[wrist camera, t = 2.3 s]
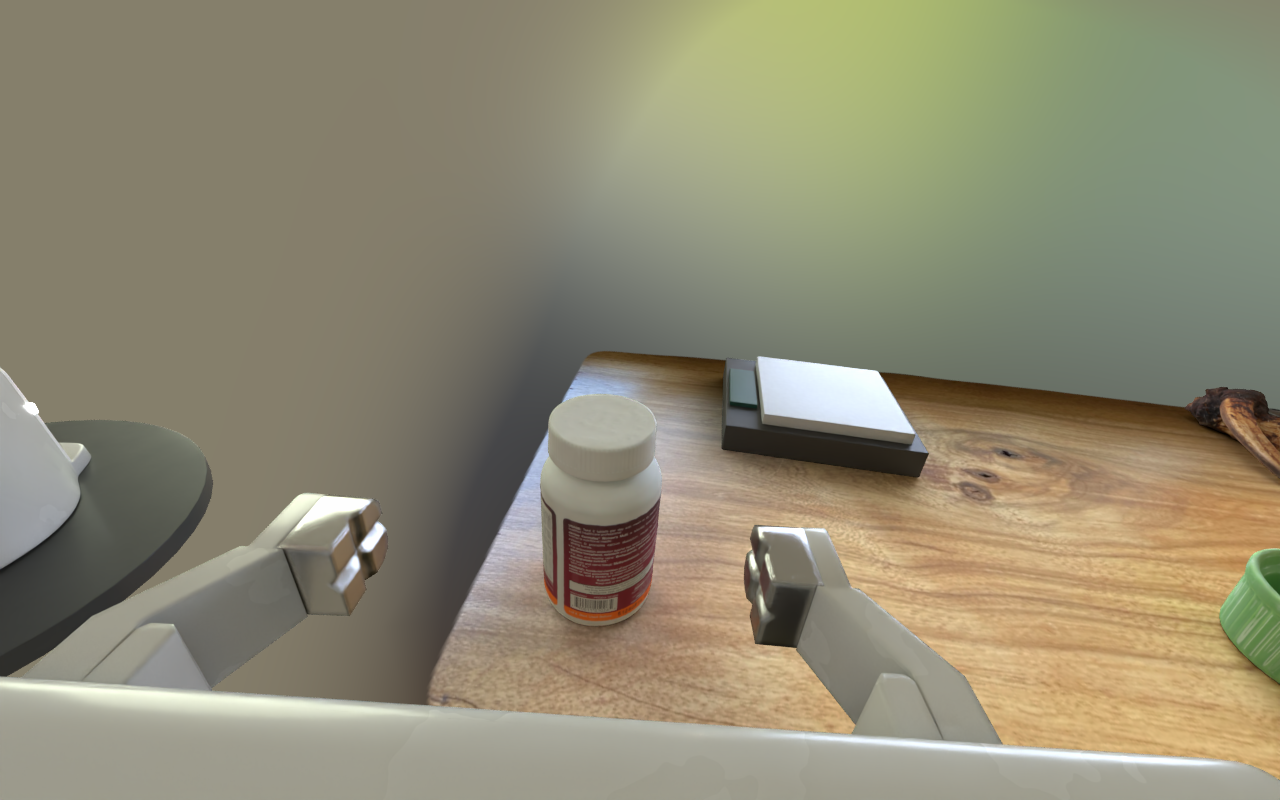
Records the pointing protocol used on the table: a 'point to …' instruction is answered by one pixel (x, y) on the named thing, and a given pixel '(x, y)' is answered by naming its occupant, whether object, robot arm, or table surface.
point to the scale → (817, 416)
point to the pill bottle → (600, 508)
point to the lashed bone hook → (1242, 421)
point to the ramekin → (1256, 612)
